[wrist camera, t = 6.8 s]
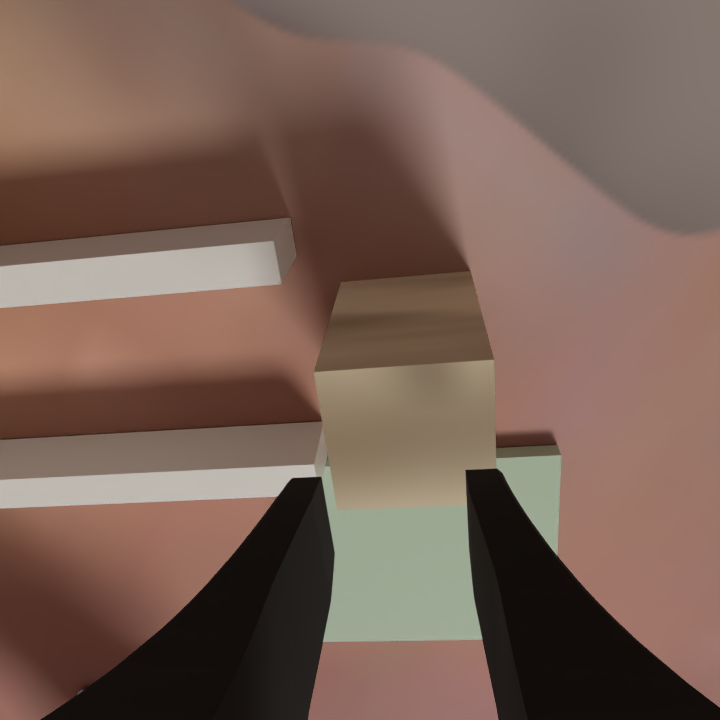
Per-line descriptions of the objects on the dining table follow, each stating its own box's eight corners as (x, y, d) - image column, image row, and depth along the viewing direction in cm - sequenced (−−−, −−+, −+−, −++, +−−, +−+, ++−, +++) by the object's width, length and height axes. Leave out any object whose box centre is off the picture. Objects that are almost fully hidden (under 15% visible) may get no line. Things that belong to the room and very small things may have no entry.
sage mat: (551, 626, 25) (554, 638, 25) (312, 630, 26) (310, 642, 26) (557, 444, 21) (561, 455, 21) (275, 459, 22) (272, 469, 22)
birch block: (474, 384, 20) (497, 503, 15) (356, 392, 21) (337, 510, 16) (470, 270, 19) (494, 359, 13) (341, 281, 19) (313, 372, 14)
